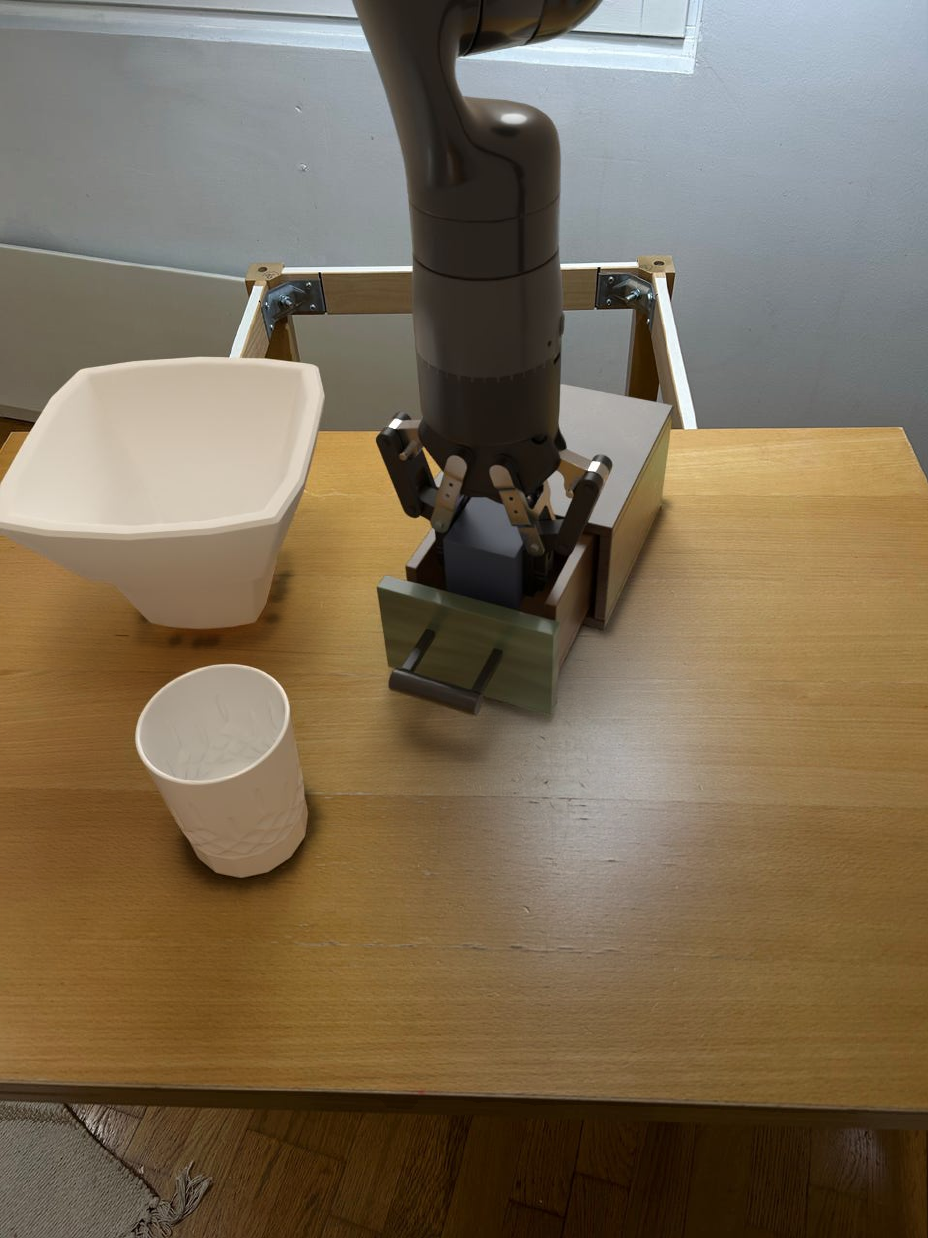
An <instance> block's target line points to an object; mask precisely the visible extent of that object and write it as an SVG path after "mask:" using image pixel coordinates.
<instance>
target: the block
mask: <svg viewBox="0 0 928 1238" xmlns="http://www.w3.org/2000/svg"><path fill="white" fill-rule="evenodd" d="M443 546H444V560H445V573H446V586H447V592H450V593H454V594H458V595H461V596H465V597H469V598H472V599H476V600H480V601H484V602H487V603H491V604H495V605H498V606H502V607H506V608H509V609H513V610H518V608H519V606H520V604H521V602H522V601H523V599H524V597H525V595H523V593H522V573H523V552H524V550H525V547H524V545H523V542H522V539H521V536H520V534H519V531H518V528H517V527H513V526H512V525H511V523H510V520H509V518H508V515H507V512H506V510H505V507H504V505H503V504H499V503H497V502H495V501H492V500H490V499H487V498H483V497H472V498H471V499H470V501H469V502H468V504H467V505H466V507H465V508H464V510H463V511H462V513H461V514H460V516H459V517H458V519H457V520H456V522H455V523H454V524H453V526H452V527H451V529H450V530H449V532H448V533H447V535H446V536H445V538H444V539H443Z"/></svg>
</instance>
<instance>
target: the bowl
mask: <svg viewBox="0 0 928 1238" xmlns="http://www.w3.org/2000/svg"><path fill="white" fill-rule="evenodd" d="M325 396H326V395H325V391H324V387H323V382H322V378H321V374H320V369H319V367H318V366H317V365H314V364H313V363H305V362H299V361H298V362H296V361H289V360H281V359H272V358H261V357H259V358H258V357H257V358H256V357H223V356H220V357H219V356H190V357H178V358H162V359H160V358H159V359H148V360H133V361H126V362H120V363H112V364H105V365H99V366H91V367H85V368H81V369H79V370H77V372H76V373H75V374H73V376H72V377H70V379H69V380H68V381H66V382H65V383H64V384H63V386H61V387H60V388H59V389H58V390H57V392H55V393H54V394H53V395H52V396H51V397H50V399H49V400H48V402H47V403H46V405H45V407H44V408H43V410H42V412H41V413H40V415H39V416H38V418H37V420H36V422H35V423H34V425H33V427H32V428H31V430H30V432H28V434H27V436H26V438H25V439H24V442H23V443H22V445H21V447H20V448H19V450H18V452H17V454H16V455H15V458H14V459H13V460H12V463H10V466H9V467H8V469H7V471H6V473H5V475H4V477H3V478H2V480H1V481H0V535H1V536H3V537H5V538H7V539H9V540H11V541H13V542H14V543H16V544H19V545H20V546H22V547H24V548H25V549H28V550H30V551H31V552H33V553H35V554H37V555H39V556H41V557H43V558H45V559H47V560H49V561H50V562H52V563H54V564H56V565H58V566H60V567H62V568H63V569H66V570H68V571H70V572H71V573H73V574H76V575H77V576H79V577H81V578H83V579H85V580H87V581H90V582H95V583H102V584H107V585H113V586H114V587H115V588H116V589H117V590H118V591H119V592H120V594H122V596H124V598H125V599H126V600H127V601H128V602H129V603H130V604H131V605H132V606H133V607H134V608H135V609H136V610H137V612H139V614H141V615H142V616H143V617H144V618H145V619H146V621H148V622H149V623H151V624H153V625H158V626H162V627H168V628H174V629H175V628H176V629H189V630H210V629H211V630H213V629H224V628H226V629H227V628H235V627H240V626H245V625H246V626H247V625H251V624H254V623H256V622H257V621H258V619H259V617H260V615H261V614H262V612H263V611H264V609H265V607H266V606H267V602H268V598H269V594H270V590H271V586H272V583H273V578H274V573H275V570H276V565H277V558H278V555H279V553H280V551H281V549H282V546H283V544H284V542H285V539H286V536H287V533H288V532H289V529H290V526H291V524H292V521H293V520H294V517H295V514H296V511H297V510H298V507H299V505H300V502H301V499H302V497H303V495H304V491H305V488H306V485H307V482H308V477H309V474H310V470H311V467H312V466H311V465H312V461H313V457H314V454H315V450H316V447H317V446H316V445H317V441H318V437H319V432H320V427H321V424H322V423H321V422H322V418H323V414H324V409H325V404H326V397H325Z"/></svg>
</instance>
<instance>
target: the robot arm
mask: <svg viewBox="0 0 928 1238" xmlns="http://www.w3.org/2000/svg"><path fill="white" fill-rule="evenodd" d="M603 2H604V0H351V3H352V5H353V8H354V11H355V13H356V16H357V19H358V21H359V24H360V27H361V30H362V33H363V35H364V37H365V40H366V43H367V45H368V48H369V50H370V51H369V52H371V56H372V59H373V61H374V63H375V67H376V70H377V73H378V75H379V78H380V81H381V84H382V88H383V90H384V93H385V97H386V100H387V103H388V106H389V110H390V114H391V118H392V120H393V124H394V127H395V133H396V135H397V136H396V137H397V139H398V140H397V141H398V144H399V148H400V152H401V157H402V161H403V166H404V173H405V182H406V193H407V200H408V212H409V224H410V225H409V227H410V235H411V247H412V253H411V254H412V256H411V257H412V258H411V259H412V268H411V269H412V270H411V271H412V272H411V285H410V287H411V289H410V295H411V296H410V299H411V313H412V323H413V324H412V326H413V336H414V348H415V358H416V369H417V370H416V371H417V382H418V383H417V384H418V393H419V394H418V395H419V403H420V412H421V415H422V418H421V419H412V417H411V416H410V415H409V414H408V413H407V412H404V411H398V412H395V414H394V415H393V416H392V417H391V419H389V421H388V422H387V423H386V425H385V426H384V427H383V428H382V430H381V431H380V432H379V433H378V434H377V436H376V437H375V443H376V446H377V449H378V450H379V453H380V456H381V458H382V461H383V464H384V466H385V468H386V471H387V473H388V475H389V478H390V480H391V483H392V485H393V488H394V491H395V492H396V495H397V498H398V501H399V503H400V505H401V508H402V510H403V512H404V514H405V515H406V516H407V517H410V518H411V519H418V518H420V517H422V518H424V519H426V520H427V521H428V522H429V523H430V526H431V528H433V529H434V530H435V539H436V551H437V559H438V561H439V563H440V565H443V566H445V560H444V546H443V539H444V538H445V536H446V535H447V533H448V532H449V530H450V529H451V527H452V526H453V524H454V523H455V522H456V520H457V519H458V517H459V516H460V514H461V510H462V508H463V507H464V504H465V502H466V499H467V496H469V497H484V498H488V499H490V500H492V501H495V502H497V503H499V504H503V505H504V507H505V510H506V512H507V515H508V518H509V520H510V523H511V525H512V526H513V527H517V528H518V531H519V534H520V536H521V539H522V542H523V545H524V547H525V550H524V552H523V573H522V593H523V595H525V596H529V597H534V596H535V594H536V592H537V590H538V591H543V589H544V587H545V586H546V584H547V582H548V580H549V578H550V576H551V574H552V573H553V551H556V552H557V553H559V554H561V555H564V556H568V555H571V554H572V552H573V551H574V549H575V547H576V544H577V542H578V540H579V538H580V536H581V534H582V533H583V532H584V530H585V528H586V526H587V523H588V521H589V519H590V517H591V514H592V512H593V510H594V508H595V505H596V503H597V501H598V499H599V496H600V494H601V492H602V490H603V487H604V485H605V483H606V481H607V478H608V476H609V474H610V472H611V469H612V467H613V464H612V461H611V459H610V458H609V457H607V456H605V455H602V454H599V455H596V456H594V457H593V459H592V460H589V459H587V458H585V457H582V456H580V455H578V454H576V453H574V452H572V451H569V450H567V445H566V441H565V439H564V437H563V435H562V433H561V431H560V428H559V411H560V384H561V381H562V380H561V379H562V349H563V348H562V346H563V343H562V341H563V335H564V331H565V320H566V319H565V317H566V315H565V313H564V309H563V308H564V307H563V306H564V291H563V290H564V285H563V276H562V268H561V259H560V233H561V231H560V229H561V191H562V189H561V188H562V187H561V186H562V185H561V184H562V151H561V150H562V149H561V139H560V135H559V132H558V129H557V127H556V125H555V123H554V121H553V120H552V119H551V117H550V116H549V115H548V114H546V113H545V112H543V110H540V109H539V108H537V107H536V106H533V105H530V104H527V103H524V102H520V101H514V100H509V99H502V98H501V99H500V98H489V97H488V98H487V97H475V96H467V95H463V94H462V92H461V89H460V86H459V83H458V77H457V68H456V67H457V59H460V58H465V57H469V56H476V55H480V54H486V53H492V52H496V51H502V50H507V49H512V48H517V47H526V46H530V45H536V44H542V43H546V42H550V41H552V40H556V39H558V38H560V37H562V36H565V35H567V34H568V33H570V32H572V31H573V30H575V29H576V28H577V27H579V26H580V25H581V24H582V23H584V22H585V21H587V19H588V18H590V17H591V15H592V14H594V12H596V10H597V9H598V8H599V7H600V6H601V4H602V3H603ZM424 449H425V450H426V452H427V453H428V454H429V456H430V457H431V458H432V460H433V461H434V463H435V464H436V465H437V466H438V468H439V469H440V471H441V470H442V472H443V473H444V475H443V478H442V481H441V484H440V487H439V490H438V491H437V486H436V484H435V481H434V479H435V478H434V476H433V472H432V471H431V468H430V467H431V466H430V465H429V462H428V459H427V457H426V454H425V452H424ZM555 471H558V472H560V473H561V474H562V475H563V477H564V488H565V490H566V496H567V497H568V498H572V500H571V503H570V505H569V508H568V510H567V513H566V515H565V517H564V519H560V520H556V518H555V515H554V512H553V509H552V506H551V503H550V495H551V491H550V487H549V484H548V481H547V479H548V478H549V477H550V476H551V475H552V474H553V473H554V472H555ZM445 574H446V573H445Z"/></svg>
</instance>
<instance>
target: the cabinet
mask: <svg viewBox="0 0 928 1238" xmlns="http://www.w3.org/2000/svg"><path fill="white" fill-rule="evenodd" d="M674 408H675V407H674V405H673V404H669V403H663V402H658V401H653V400H648V399H643V398H638V397H632V396H629V395H628V396H627V395H622V394H616V393H611V392H607V391H601V390H596V389H590V388H584V387H580V386H574V385H570V384H566V383H565V384H564V383H560V411H559V428H560V431H561V433H562V435H563V437H564V439H565V441H566V445H567V450H569V451H572V452H574V453H576V454H578V455H580V456H582V457H585V458H587V459H589V460H592V459H593V457H594V456H596V455H599V454H602V455H605V456H607V457H609V458H610V459H611V461H612V464H613V467H612V469H611V472H610V474H609V476H608V478H607V481H606V483H605V485H604V487H603V490H602V492H601V494H600V496H599V499H598V501H597V503H596V505H595V508H594V510H593V512H592V514H591V517H590V519H589V521H588V523H587V526H586V528H585V530H584V531H585V532H589V533H594V534H598V535H600V545H599V559H598V572H597V586H596V595H595V597H594V599H593V601H592V603H591V605H590V607H589V609H588V611H587V613H586V616H585V618H584V620H583V622H582V624H581V625H585V626H588V627H593V628H596V629H600V630H603V631H604V630H605V629H606V627H607V624H608V622H609V620H610V618H611V616H612V614H613V611H614V609H615V607H616V605H617V602H618V600H619V598H620V597H621V594H622V591H623V590H624V587H625V585H626V582H627V580H628V578H629V577H630V574H631V572H632V569H633V568H634V566H635V563H636V561H637V558H638V556H639V554H640V552H641V549H642V548H643V545H644V543H645V541H646V539H647V536H648V534H649V532H650V530H651V528H652V526H653V524H654V521H655V519H656V517H657V515H658V513H659V511H660V508H661V506H662V502H663V501H662V500H663V494H664V485H665V478H666V471H667V470H666V469H667V464H668V463H667V462H668V454H669V446H670V439H671V438H670V437H671V431H672V425H673V424H672V422H673V415H674ZM443 475H444V473H443V472H442V470H441V469H440V471H439V472H438V474H437V475H436V476H435V478H434V481H435V484H436V486H437V491H438V490H439V487H440V484H441V481H442V478H443ZM547 481H548V484H549V487H550V491H551V495H550V503H551V506H552V509H553V512H554V515H555V518H556V520H560V519H564V517H565V515H566V513H567V510H568V508H569V505H570V503H571V500H572V498H568V497H567V496H566V490H565V488H564V477H563V475H562V474H561V473H560V472H558V471H555V472H554V473H553V474H552V475H551V476H550V477H549V478H548V479H547ZM471 498H472V497H469V496H467V499H466V502H465V503H468V502H469V501H470V499H471ZM483 498H484V497H483ZM487 499H488V498H487Z"/></svg>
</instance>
